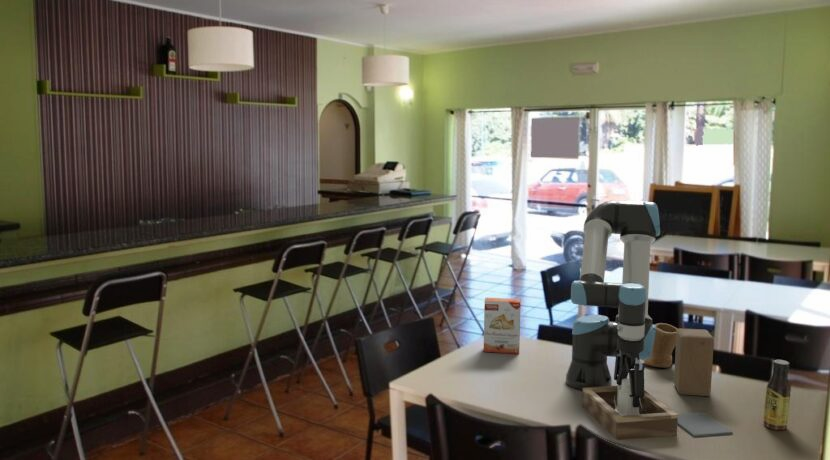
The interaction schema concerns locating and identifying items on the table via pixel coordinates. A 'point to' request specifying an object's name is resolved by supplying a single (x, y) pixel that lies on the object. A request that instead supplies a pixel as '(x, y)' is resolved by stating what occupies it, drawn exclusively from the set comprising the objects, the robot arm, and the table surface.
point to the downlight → (624, 398)
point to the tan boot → (663, 346)
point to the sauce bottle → (777, 397)
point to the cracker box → (502, 325)
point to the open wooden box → (629, 426)
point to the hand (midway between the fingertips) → (627, 410)
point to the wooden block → (693, 362)
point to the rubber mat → (701, 424)
